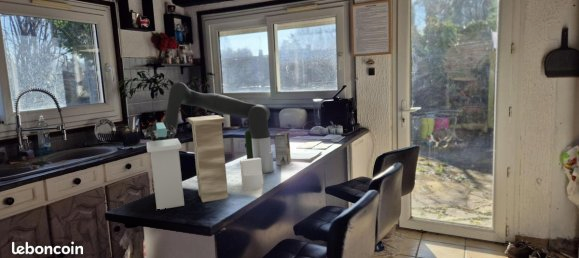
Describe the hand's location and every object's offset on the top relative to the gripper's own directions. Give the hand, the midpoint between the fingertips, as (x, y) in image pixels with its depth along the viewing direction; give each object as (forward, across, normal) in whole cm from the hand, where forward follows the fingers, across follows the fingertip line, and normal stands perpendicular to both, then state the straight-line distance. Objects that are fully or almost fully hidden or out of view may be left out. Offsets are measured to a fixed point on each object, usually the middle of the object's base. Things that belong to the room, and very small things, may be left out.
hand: (160, 123), depth 163 cm
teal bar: (+5, 0, +6) cm, 8 cm away
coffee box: (-39, +62, +12) cm, 75 cm away
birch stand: (-4, +17, +33) cm, 37 cm away
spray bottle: (-57, +52, +2) cm, 77 cm away
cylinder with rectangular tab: (-8, +35, +30) cm, 47 cm away
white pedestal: (-4, 0, +33) cm, 33 cm away
